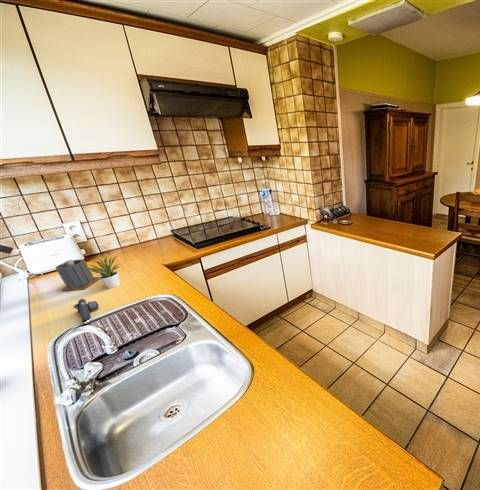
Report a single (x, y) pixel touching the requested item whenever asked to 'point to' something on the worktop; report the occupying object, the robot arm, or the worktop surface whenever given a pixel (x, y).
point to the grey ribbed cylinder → (75, 274)
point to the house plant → (106, 272)
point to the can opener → (85, 308)
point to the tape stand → (71, 263)
